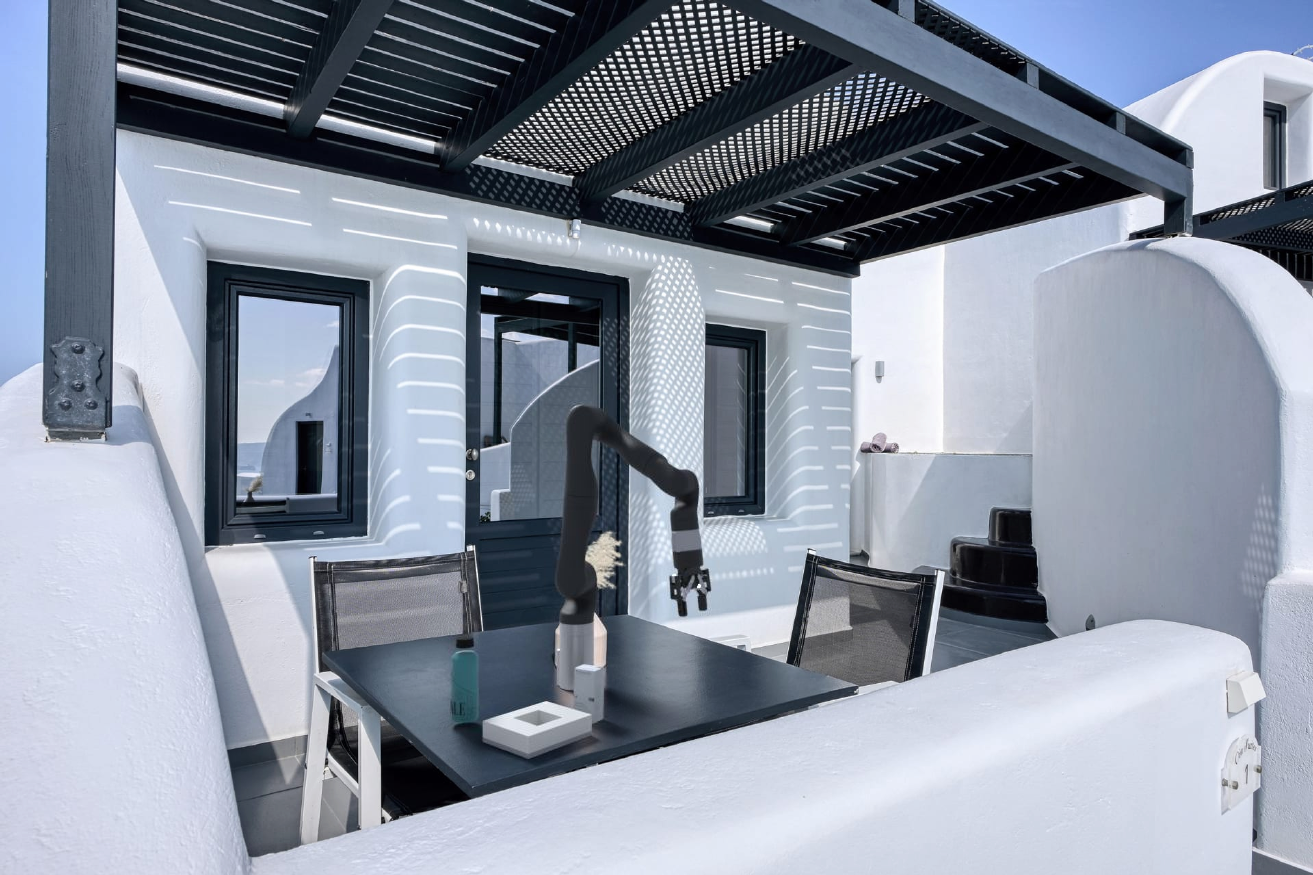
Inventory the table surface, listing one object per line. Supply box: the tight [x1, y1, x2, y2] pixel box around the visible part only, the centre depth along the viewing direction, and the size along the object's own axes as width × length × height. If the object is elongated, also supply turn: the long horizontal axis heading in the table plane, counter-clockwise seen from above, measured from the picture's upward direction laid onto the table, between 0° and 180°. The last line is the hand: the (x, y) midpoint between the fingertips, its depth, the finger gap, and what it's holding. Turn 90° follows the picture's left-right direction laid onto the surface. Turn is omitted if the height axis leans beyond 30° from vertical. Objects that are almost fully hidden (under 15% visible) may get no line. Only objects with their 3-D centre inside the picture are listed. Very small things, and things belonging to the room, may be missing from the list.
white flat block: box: [482, 700, 593, 760], centre depth 171 cm, size 15×18×4 cm
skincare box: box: [572, 664, 606, 725], centre depth 184 cm, size 6×4×12 cm
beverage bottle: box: [449, 635, 480, 724], centre depth 180 cm, size 6×7×20 cm
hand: (693, 613), depth 197 cm, fingers open, 8 cm apart
